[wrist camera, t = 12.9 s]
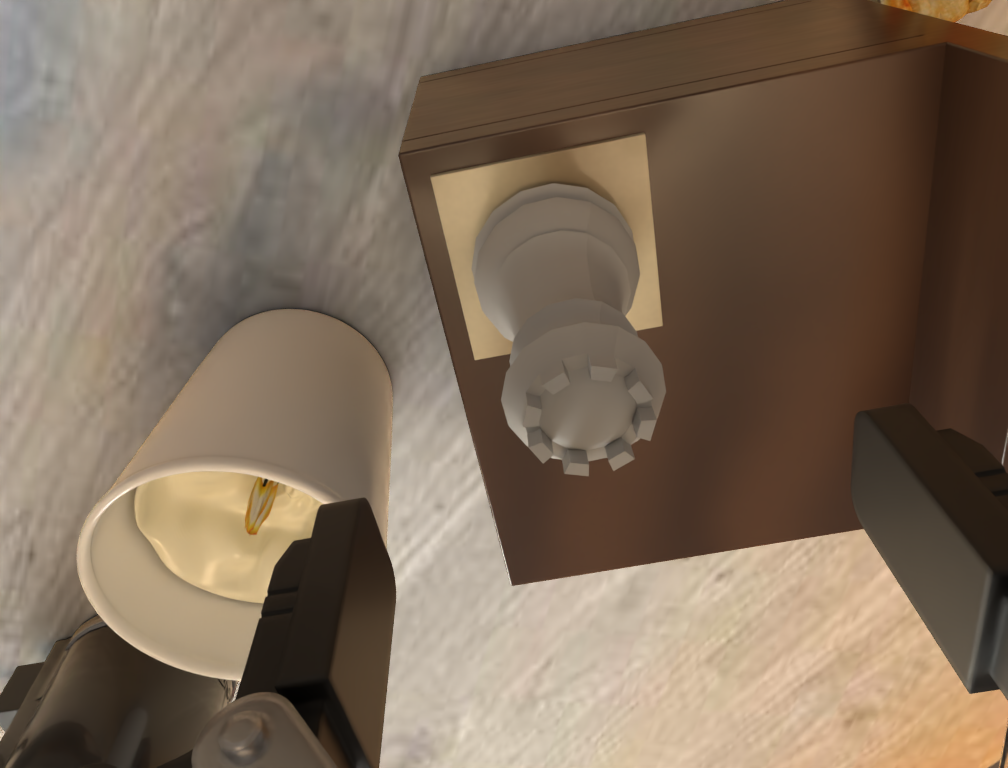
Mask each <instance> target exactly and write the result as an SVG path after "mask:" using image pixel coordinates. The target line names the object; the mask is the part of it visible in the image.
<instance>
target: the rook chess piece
mask: <svg viewBox="0 0 1008 768" xmlns="http://www.w3.org/2000/svg"><path fill="white" fill-rule="evenodd" d="M471 269H472V273H473V276H474V284H475V287H476V291H477V294H478V298H479V301H480V305H481V308H482V311H483V312H484V314H485V315H486V316H487V317H488V319H489V320H490V321H491V322H492V323H493V325H494V326H495V327H496V328H497V329H498V331H499V332H500V333H501V334H502V335H503V336H504V337H505V338H506V339H508V340H510V341H512V342H513V344H512V350H511V355H510V360H509V362H510V368H509V369H508V371H507V372H506V376H505V381H504V386H503V392H502V397H501V402H502V405H503V409H504V412H505V416H506V419H507V422H508V426H509V427H510V428H511V429H512V430H513V431H514V432H515V434H516V435H517V436H518V437H519V438H520V439H521V440H522V441H523V442H524V444H525V445H526V446H528V447H529V449H530V450H531V451H532V452H533V453H534V454H535V455H536V456H537V458H538V459H539V460H540V461H541V462H542V463H543V464H544V463H545V462H546V461H547V460H548V459H549V458H553V459H561V460H562V463H563V469H564V474H571V475H581V476H589V461H593V460H598V459H603V458H608V461H609V463H610V465H611V467H612V469H613V471H615V470H616V469H618V468H620V467H622V466H623V465H625V464H627V463H629V462H630V461H632V460H634V459H635V457H634V454H633V450H632V447H631V445H632V444H633V443H635V442H637V441H638V440H639V439H640V438H641V439H645V440H648V441H650V440H651V437H652V434H653V431H654V427H655V424H656V421H657V418H658V416H659V413H660V409H661V406H662V403H663V400H664V397H665V393H666V387H665V381H664V374H663V368H662V364H661V362H660V361H659V360H658V358H657V357H656V356H655V354H654V353H653V351H652V350H651V349H650V347H649V346H648V345H647V343H646V342H645V341H644V340H642V339H640V338H638V335H637V332H636V330H635V329H634V327H633V326H632V325H631V323H630V322H629V321H628V319H627V318H626V314H627V313H628V312H629V311H630V309H631V307H632V304H633V300H634V296H635V293H636V289H637V285H638V281H639V277H640V269H639V263H638V257H637V251H636V244H635V243H634V239H633V233H632V230H631V228H630V227H629V225H628V224H627V222H626V221H625V219H624V218H623V216H622V215H621V213H620V212H619V210H618V209H617V207H616V206H615V205H614V204H613V203H611V202H609V201H608V200H606V199H604V198H603V197H601V196H599V195H598V194H596V193H595V192H593V191H591V190H590V189H588V188H584V187H577V186H570V185H563V184H556V183H552V184H548V185H544V186H540V187H536V188H532V189H528V190H524V191H520V192H519V193H517V194H516V195H515V196H513V197H512V198H510V199H509V200H508V201H506V202H505V203H503V204H502V205H501V206H499V207H498V208H496V209H495V210H494V211H493V212H492V213H491V215H490V217H489V218H488V220H487V221H486V223H485V225H484V226H483V228H482V229H481V231H480V233H479V234H478V236H477V237H476V241H475V248H474V255H473V261H472V268H471Z"/></svg>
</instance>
